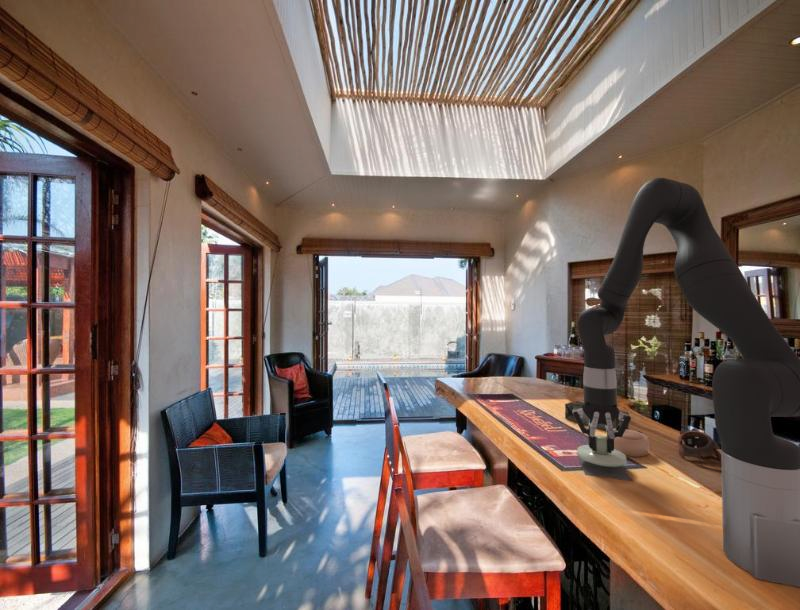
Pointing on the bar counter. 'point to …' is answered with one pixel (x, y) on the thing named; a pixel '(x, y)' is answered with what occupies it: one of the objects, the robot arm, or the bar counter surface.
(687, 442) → the pottery mug
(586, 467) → the mat
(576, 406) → the beverage carton
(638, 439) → the bowl
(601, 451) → the lid
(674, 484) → the bar counter surface
